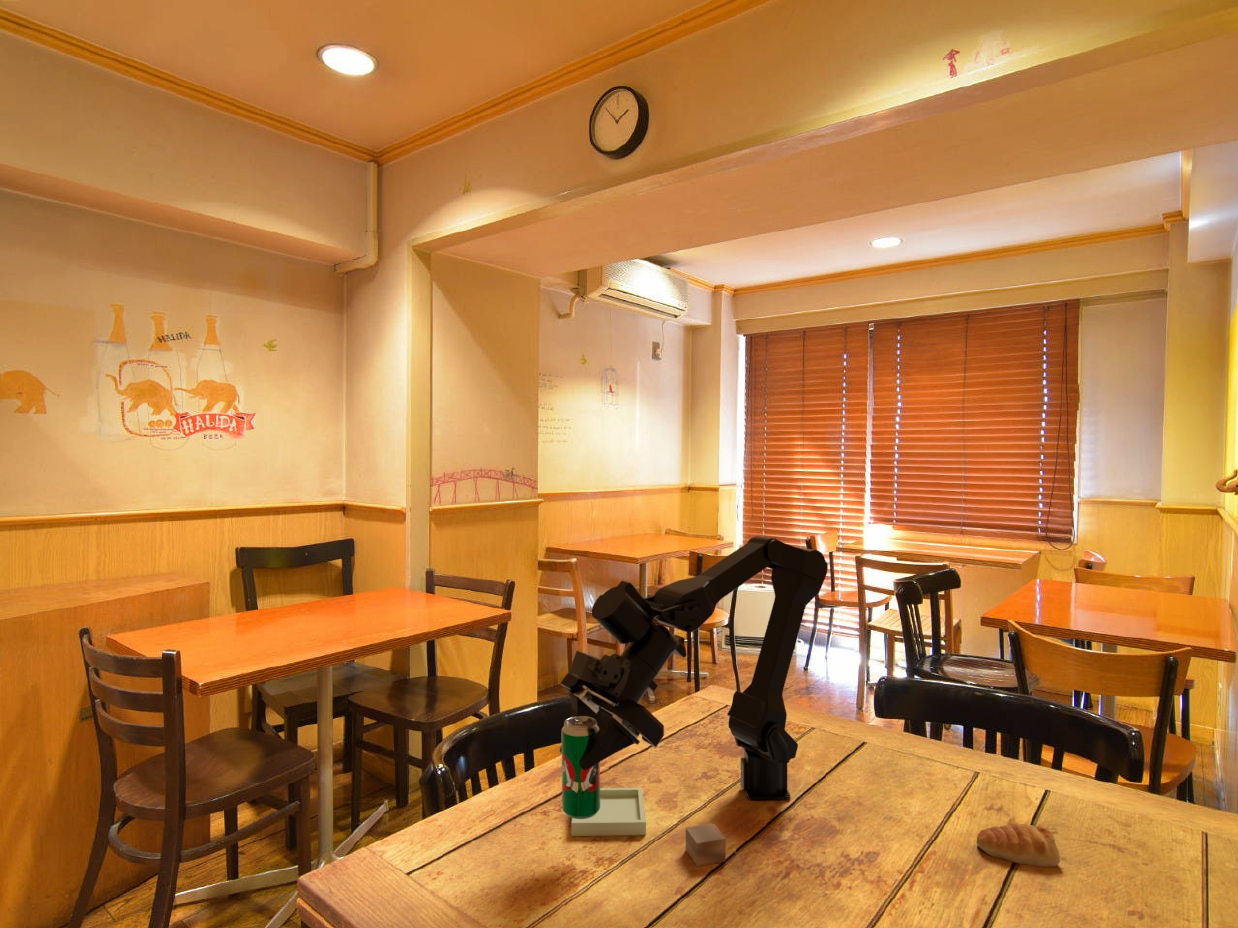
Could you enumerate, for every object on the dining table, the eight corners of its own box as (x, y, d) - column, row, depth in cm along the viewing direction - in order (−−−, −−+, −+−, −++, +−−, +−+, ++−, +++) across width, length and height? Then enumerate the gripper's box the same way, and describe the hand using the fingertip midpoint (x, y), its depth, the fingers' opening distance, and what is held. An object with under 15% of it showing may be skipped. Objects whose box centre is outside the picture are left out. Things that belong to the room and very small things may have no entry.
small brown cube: (713, 845, 97) (713, 823, 97) (725, 861, 93) (725, 838, 93) (685, 849, 96) (685, 827, 96) (697, 866, 92) (697, 843, 92)
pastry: (986, 864, 92) (986, 835, 92) (969, 837, 99) (969, 810, 99) (1065, 871, 91) (1065, 841, 91) (1041, 843, 98) (1041, 815, 98)
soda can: (602, 802, 97) (601, 715, 97) (597, 821, 92) (596, 729, 92) (565, 801, 97) (564, 714, 97) (559, 820, 92) (558, 728, 92)
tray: (642, 799, 110) (642, 787, 110) (646, 834, 99) (646, 822, 99) (575, 799, 110) (575, 788, 110) (571, 835, 99) (571, 822, 99)
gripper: (571, 615, 104) (502, 705, 98) (644, 643, 88) (566, 752, 83) (617, 660, 108) (554, 748, 103) (694, 694, 93) (624, 801, 87)
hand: (571, 760), depth 94 cm, fingers closed on soda can, 5 cm apart
